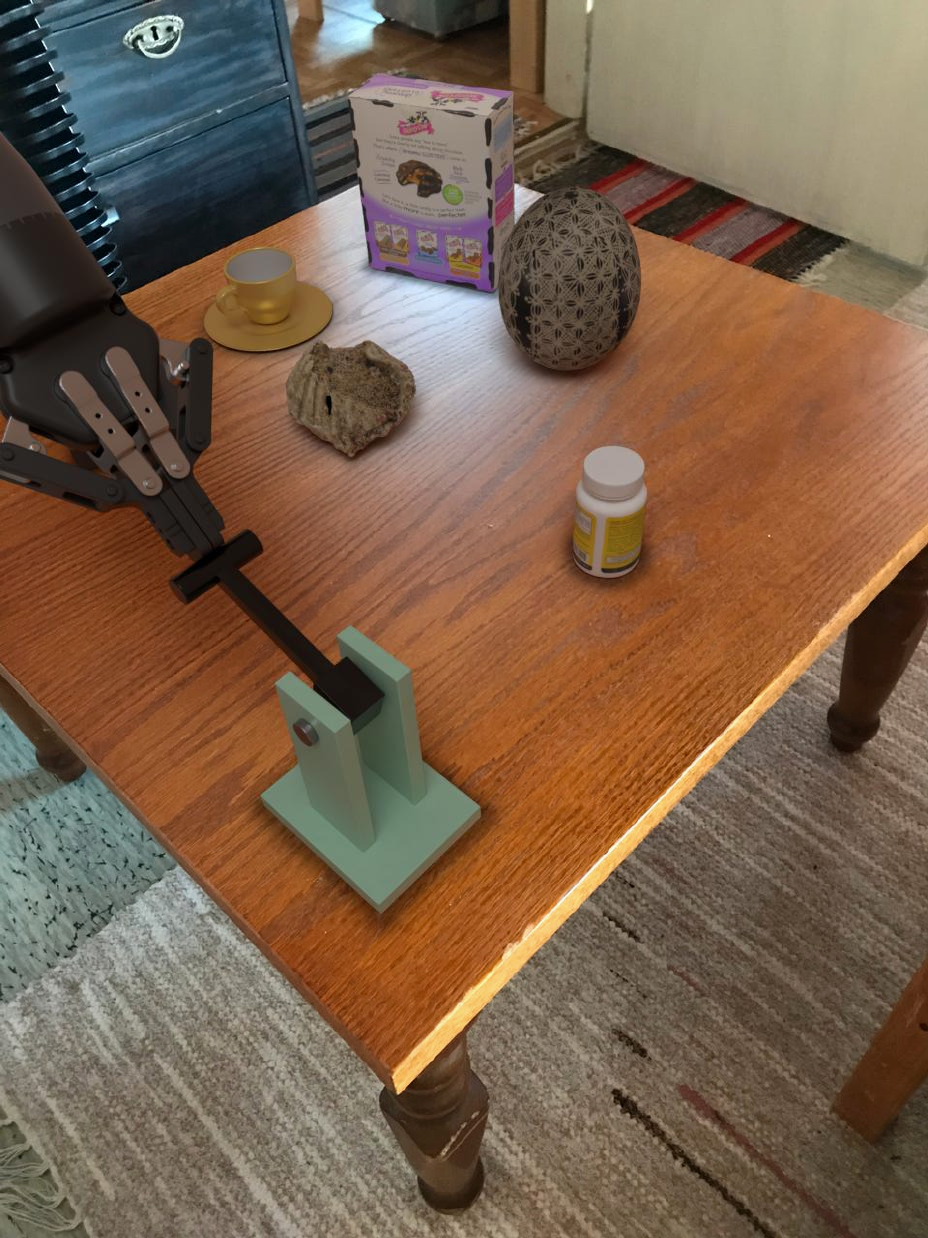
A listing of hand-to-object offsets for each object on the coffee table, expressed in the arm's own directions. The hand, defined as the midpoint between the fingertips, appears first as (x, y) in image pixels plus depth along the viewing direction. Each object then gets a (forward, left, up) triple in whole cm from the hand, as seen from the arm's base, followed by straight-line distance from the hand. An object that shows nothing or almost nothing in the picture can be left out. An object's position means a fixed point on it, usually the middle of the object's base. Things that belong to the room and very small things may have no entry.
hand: (209, 551), depth 51 cm
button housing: (-19, +29, -15) cm, 38 cm away
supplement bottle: (+21, +16, -15) cm, 30 cm away
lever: (+4, -3, -3) cm, 6 cm away
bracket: (+8, -6, -15) cm, 18 cm away
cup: (-11, +45, -15) cm, 49 cm away
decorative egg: (+17, +40, -15) cm, 46 cm away
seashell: (0, +30, -15) cm, 34 cm away
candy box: (+4, +55, -15) cm, 57 cm away
